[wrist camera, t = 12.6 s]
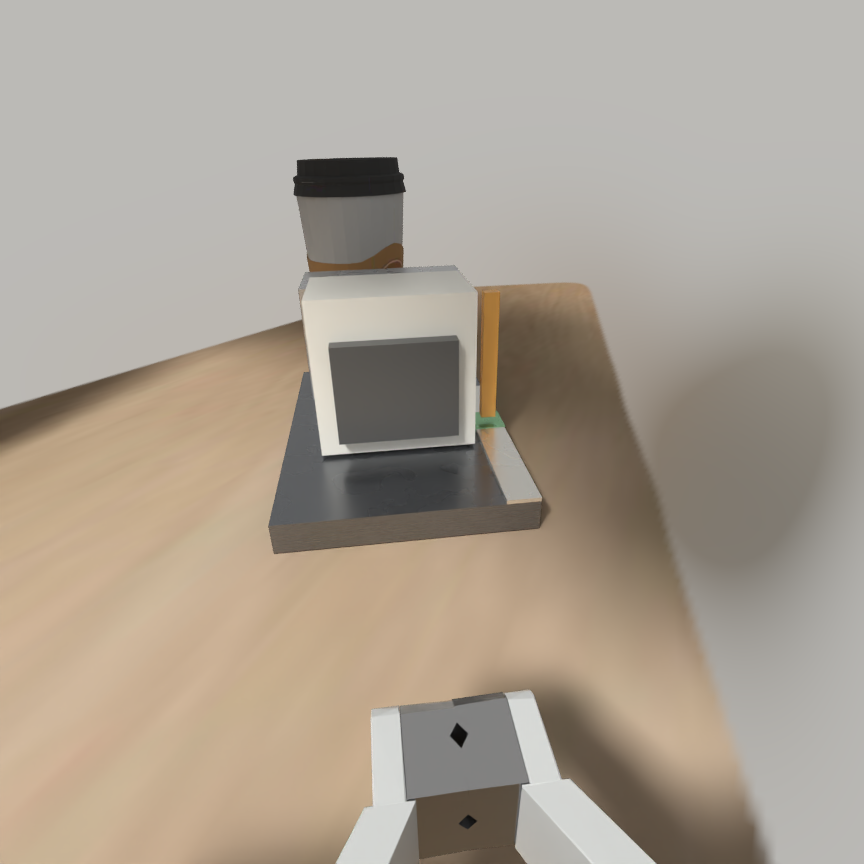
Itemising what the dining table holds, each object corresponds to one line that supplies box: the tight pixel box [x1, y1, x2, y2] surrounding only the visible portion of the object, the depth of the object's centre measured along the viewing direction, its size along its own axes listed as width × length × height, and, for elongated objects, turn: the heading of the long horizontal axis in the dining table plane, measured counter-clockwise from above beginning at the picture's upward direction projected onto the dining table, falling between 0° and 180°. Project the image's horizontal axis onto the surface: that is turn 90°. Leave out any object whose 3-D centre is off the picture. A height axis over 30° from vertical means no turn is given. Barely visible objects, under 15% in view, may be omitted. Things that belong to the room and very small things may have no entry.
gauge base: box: [268, 265, 542, 554], centre depth 30 cm, size 18×12×8 cm, turn 7°
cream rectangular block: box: [301, 270, 500, 456], centre depth 28 cm, size 6×10×8 cm, turn 97°
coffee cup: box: [293, 157, 406, 272], centre depth 43 cm, size 8×8×15 cm
